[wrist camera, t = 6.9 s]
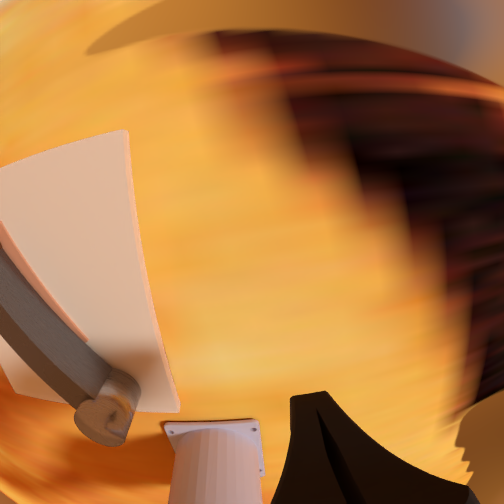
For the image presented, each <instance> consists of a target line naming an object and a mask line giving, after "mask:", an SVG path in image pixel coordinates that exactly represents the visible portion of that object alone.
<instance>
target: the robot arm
mask: <svg viewBox="0 0 504 504" xmlns="http://www.w3.org/2000/svg"><path fill="white" fill-rule="evenodd" d="M164 429H165V432H166V434H167V436H168V438H169V441H170V443H171V445H172V447H173V449H174V452H175V454H176V456H175V462H174V468H173V474H172V480H171V487H170V493H169V500H168V504H263V503H262V492H261V482H260V477H263V476H265V468H264V460H263V452H262V444H261V436H260V427H259V422H258V421H257V420H255V419H250V420H238V421H221V422H166V423H165V424H164ZM170 430H171V431H170ZM290 430H291V436H290V443H289V448H288V452H287V457H286V461H285V465H284V468H283V472H282V475H281V478H280V481H279V484H278V486H277V489H276V492H275V494H274V497H273V499H272V501H271V504H480V503H479V501H478V500H477V498H476V496H475V494H474V493H473V491H472V490H471V489H470V488H469V487H468V486H466V485H462V484H458V483H455V482H451V481H448V480H445V479H442V478H439V477H437V476H434V475H431V474H429V473H427V472H425V471H423V470H421V469H419V468H417V467H414V466H412V465H410V464H409V463H407V462H405V461H403V460H402V459H400V458H398V457H397V456H395V455H394V454H392V453H391V452H389V451H388V450H386V449H385V448H384V447H382V446H381V445H380V444H378V443H377V442H376V441H375V440H373V439H372V438H371V437H370V436H369V435H367V434H366V433H365V432H364V431H363V430H362V429H361V428H360V427H359V426H358V425H357V424H356V423H355V422H354V421H353V420H352V419H351V418H350V417H349V416H348V415H347V414H346V413H345V412H344V411H343V410H342V409H341V408H340V407H339V405H338V404H337V403H336V402H335V401H334V400H333V398H332V397H331V396H330V395H329V393H328V392H326V391H321V392H315V393H309V394H303V395H296V396H292V397H291V398H290Z"/></svg>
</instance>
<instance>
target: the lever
mask: <svg viewBox="0 0 504 504" xmlns="http://www.w3.org/2000/svg"><path fill="white" fill-rule="evenodd" d="M0 335H1V336H2V337H3V339H4V340H5V341H6V342H7V343H8V344H9V346H10V347H11V348H12V349H13V350H14V351H15V352H16V353H17V354H18V356H19V357H20V358H21V359H22V360H23V361H24V362H25V363H26V364H27V365H28V366H29V367H30V368H31V369H32V370H33V371H34V372H35V373H36V374H37V375H38V376H39V377H40V378H41V379H42V380H43V381H44V382H45V383H46V384H47V385H48V386H49V387H51V388H52V389H53V390H54V391H55V392H56V393H57V394H58V395H59V396H61V397H62V398H63V399H64V400H65V401H66V402H68V403H69V404H70V405H71V406H72V407H74V408H75V409H76V410H77V411H76V412H75V414H74V421H75V424H76V426H77V427H78V428H79V430H80V431H81V432H82V433H83V434H84V435H85V436H87V437H88V438H90V439H91V440H93V441H95V442H97V443H99V444H102V445H105V446H111V447H116V446H120V445H122V444H123V443H124V442H125V439H126V436H127V433H128V430H129V427H130V425H131V422H132V419H133V416H134V413H135V411H136V408H137V405H138V402H139V400H140V397H141V389H140V386H139V384H138V383H137V381H136V380H135V379H134V378H133V377H132V376H131V375H129V374H128V373H126V372H124V371H122V370H120V369H116V368H112V367H111V366H110V365H109V364H108V363H106V362H105V361H104V360H103V359H102V358H101V357H100V356H99V355H97V354H96V353H95V352H94V351H93V350H92V349H91V348H90V347H89V346H88V345H87V344H86V343H85V342H84V341H82V340H81V339H80V338H79V337H78V336H77V335H76V334H75V333H74V332H73V331H72V330H71V329H70V328H69V327H68V326H67V325H66V324H65V323H64V322H63V320H62V319H61V318H60V317H59V316H58V315H57V314H56V313H55V312H54V311H53V310H52V309H51V308H50V307H49V305H48V304H47V303H46V302H45V301H44V300H43V299H42V297H41V296H40V295H39V294H38V293H37V292H36V291H35V289H34V288H33V287H32V286H31V285H30V283H29V282H28V281H27V280H26V278H25V277H24V276H23V275H22V273H21V272H20V271H19V270H18V268H17V267H16V266H15V264H14V263H13V262H12V260H11V259H10V258H9V256H8V255H7V254H6V252H5V251H4V249H3V248H2V245H1V242H0Z"/></svg>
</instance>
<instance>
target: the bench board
mask: <svg viewBox="0 0 504 504" xmlns="http://www.w3.org/2000/svg"><path fill="white" fill-rule="evenodd" d="M0 242H1V245H2V248H3V249H4V251H5V252H6V254H7V255H8V256H9V258H10V259H11V260H12V262H13V263H14V264H15V266H16V267H17V268H18V270H19V271H20V272H21V273H22V275H23V276H24V277H25V278H26V280H27V281H28V282H29V283H30V285H31V286H32V287H33V288H34V289H35V291H36V292H37V293H38V294H39V295H40V296H41V297H42V299H43V300H44V301H45V302H46V303H47V304H48V305H49V307H50V308H51V309H52V310H53V311H54V312H55V313H56V314H57V315H58V316H59V317H60V318H61V319H62V320H63V322H64V323H65V324H66V325H67V326H68V327H69V328H70V329H71V330H72V331H73V332H74V333H75V334H76V335H77V336H78V337H79V338H80V339H81V340H82V341H84V342H85V343H86V344H87V345H88V346H89V347H90V348H91V349H92V350H93V351H94V352H95V353H96V354H97V355H99V356H100V357H101V358H102V359H103V360H104V361H105V362H106V363H108V364H109V365H110V366H111V367H112V368H116V369H120V370H122V371H124V372H126V373H128V374H129V375H131V376H132V377H133V378H134V379H135V380H136V381H137V383H138V384H139V386H140V389H141V397H140V400H139V402H138V405H137V408H136V411H139V412H166V413H179V410H180V405H181V404H180V400H179V397H178V394H177V391H176V388H175V385H174V381H173V378H172V375H171V371H170V368H169V364H168V361H167V357H166V353H165V350H164V346H163V342H162V338H161V334H160V330H159V326H158V322H157V318H156V314H155V309H154V305H153V300H152V296H151V291H150V286H149V282H148V277H147V271H146V266H145V261H144V255H143V250H142V244H141V238H140V231H139V225H138V218H137V211H136V203H135V195H134V187H133V178H132V168H131V157H130V145H129V131H126V130H123V129H121V130H117V131H113V132H109V133H105V134H101V135H97V136H93V137H89V138H86V139H82V140H79V141H75V142H72V143H69V144H65V145H62V146H59V147H56V148H53V149H50V150H47V151H44V152H41V153H38V154H35V155H32V156H30V157H27V158H24V159H22V160H19V161H16V162H14V163H11V164H9V165H6V166H4V167H2V168H0ZM0 364H1V366H2V368H3V370H4V372H5V374H6V376H7V378H8V380H9V382H10V384H11V386H12V388H13V390H14V391H15V393H17V394H21V395H25V396H29V397H34V398H38V399H43V400H48V401H54V402H59V403H65V404H69V403H68V402H66V401H65V400H64V399H63V398H62V397H61V396H59V395H58V394H57V393H56V392H55V391H54V390H53V389H52V388H51V387H49V386H48V385H47V384H46V383H45V382H44V381H43V380H42V379H41V378H40V377H39V376H38V375H37V374H36V373H35V372H34V371H33V370H32V369H31V368H30V367H29V366H28V365H27V364H26V363H25V362H24V361H23V360H22V359H21V358H20V357H19V356H18V354H17V353H16V352H15V351H14V350H13V349H12V348H11V347H10V346H9V344H8V343H7V342H6V341H5V340H4V339H3V337H2V336H1V335H0Z"/></svg>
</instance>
